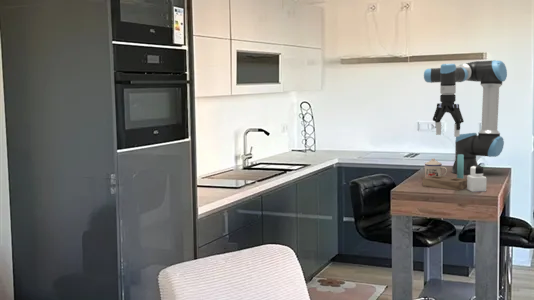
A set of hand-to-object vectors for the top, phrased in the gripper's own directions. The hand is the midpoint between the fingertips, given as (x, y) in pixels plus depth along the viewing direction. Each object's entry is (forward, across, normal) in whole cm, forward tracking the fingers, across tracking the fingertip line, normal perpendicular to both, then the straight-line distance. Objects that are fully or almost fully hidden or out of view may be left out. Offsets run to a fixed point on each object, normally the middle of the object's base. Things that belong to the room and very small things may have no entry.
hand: (447, 135), depth 321 cm
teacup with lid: (+26, -17, +7) cm, 32 cm away
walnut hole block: (+26, +3, -3) cm, 26 cm away
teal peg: (+26, -2, +11) cm, 28 cm away
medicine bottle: (+26, +19, +2) cm, 32 cm away
